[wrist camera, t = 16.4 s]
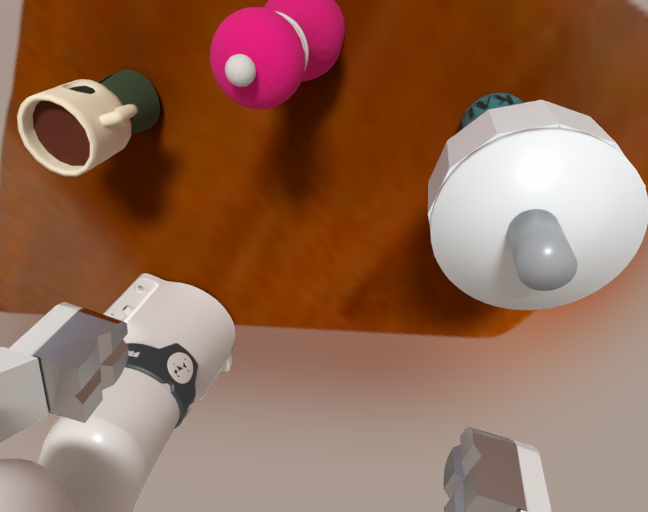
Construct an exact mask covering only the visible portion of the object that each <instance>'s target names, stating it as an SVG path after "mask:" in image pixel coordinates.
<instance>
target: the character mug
mask: <svg viewBox="0 0 648 512" xmlns="http://www.w3.org/2000/svg"><path fill="white" fill-rule="evenodd" d="M114 73H115V72H114ZM112 74H113V73H112ZM112 74H110V75H109V76H107V77H105V78H103V79H102V80H101V81H99V82H98V83H97V82H95V81H92V80H86V79H81V80H75V81H72V82H69V83H66V84H63V85H60V86H57V87H55V88H52V89H49V90H46V91H43V92H40V93H38V94H35V95H32V96H30V97H28V98H26V99H25V101H24V102H23V103H22V104H21V105H20V108H19V111H18V115H17V121H18V131H19V133H20V136H21V138H22V141H23V143H24V146H25V147H26V148H27V150H28V151H29V152H30V153H31V155H32V156H33V157H34V158H35V160H36V161H38V162H39V163H40V164H42V165H43V166H44V167H46V168H47V169H48V170H50V171H52V172H55V173H57V174H60V175H63V176H79V175H81V174H83V173H85V172H86V171H88V170H90V169H92V168H94V167H95V166H97V165H98V164H100V163H102V162H103V161H105V160H106V159H108V158H110V157H111V156H113V155H115V154H116V153H118V152H119V151H121V150H123V149H124V148H125V147H126V145H127V143H128V141H129V139H130V138H131V135H132V134H135V133H138V132H142V131H144V130H147V129H149V128H151V127H153V125H154V124H155V123H156V122H157V121H158V120H159V114H160V104H159V100H158V95H157V93H156V91H155V89H154V87H153V85H152V84H151V82H150V80H148V79H147V78H146V77H144V76H143V75H142V74H140V73H139V72H137V71H133V70H129V69H124V70H122V71H120V72H118V73H116V74H114V75H112Z"/></svg>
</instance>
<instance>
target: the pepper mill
mask: <svg viewBox="0 0 648 512" xmlns="http://www.w3.org/2000/svg"><path fill="white" fill-rule="evenodd" d="M344 36H345V22H344V18H343V15H342V12H341V10H340V8H339V6H338V5H337V4H336V2H335V1H334V0H269V1H268V2H267V3H266V5H265V6H264V7H263V8H259V7H249V8H244V9H241V10H238V11H236V12H234V13H233V14H231V15H229V16H228V17H227V18H226V19H225V20H224V21H223V22H222V23H221V24H220V26H219V27H218V29H217V31H216V32H215V34H214V37H213V40H212V44H211V50H210V62H211V67H212V71H213V74H214V77H215V79H216V81H217V83H218V85H219V86H220V88H221V89H222V90H223V91H224V93H225V94H226V95H227V96H228V97H229V98H230V99H232V100H233V101H235V102H236V103H238V104H240V105H242V106H245V107H248V108H252V109H268V108H272V107H275V106H278V105H280V104H282V103H283V102H285V101H286V100H288V99H289V98H290V97H291V96H292V95H293V94H294V93H295V92H296V90H297V88H298V87H299V85H300V83H301V81H308V80H312V79H315V78H317V77H319V76H321V75H323V74H324V73H326V72H327V71H328V70H329V69H330V68H331V67H332V66H333V65H334V64H335V62H336V61H337V59H338V57H339V55H340V52H341V49H342V45H343V40H344Z"/></svg>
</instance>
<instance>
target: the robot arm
mask: <svg viewBox="0 0 648 512" xmlns="http://www.w3.org/2000/svg"><path fill="white" fill-rule="evenodd" d="M235 338H236V332H235V327H234V323H233V321H232V319H231V317H230V315H229V313H228V312H227V311H226V309H225V308H224V307H223V306H222V305H221V304H220V303H219V302H218V301H217V300H216V299H215V298H213V297H212V296H211V295H209V294H208V293H206V292H204V291H203V290H201V289H198V288H196V287H194V286H191V285H187V284H183V283H177V282H169V281H164V280H162V279H160V278H158V277H156V276H153V275H151V274H147V273H144V274H141V275H140V276H139V277H138V278H137V279H136V280H135V281H134V282H133V283H132V284H131V285H130V286H129V287H128V288H127V290H126V291H125V292H124V293H123V294H122V295H121V296H120V297H119V298H118V299H117V300H116V301H115V302H114V303H113V304H112V305H111V306H110V307H109V308H108V309H107V310H106V311H105V312H104V313H103V314H100V313H97V312H94V311H91V310H88V309H85V308H82V307H79V306H76V305H72V304H69V303H66V302H63V303H60V304H58V305H56V306H55V307H54V308H53V309H52V310H51V311H49V312H48V313H47V314H46V315H45V316H44V317H43V318H42V319H41V320H40V321H39V322H37V324H35V325H34V326H33V327H32V328H31V329H30V330H29V331H28V332H27V333H25V334H24V335H23V336H22V337H21V338H20V339H19V340H18V341H16V342H15V343H14V344H13V345H12V346H11V347H10V348H5V347H1V348H0V442H2V441H4V440H6V439H7V438H9V437H11V436H13V435H14V434H16V433H18V432H20V431H21V430H23V429H25V428H27V427H28V426H30V425H32V424H34V423H36V422H37V421H39V420H41V419H43V418H45V417H46V416H48V415H49V413H52V414H55V415H59V416H61V417H60V418H59V420H58V421H57V422H56V423H55V424H54V426H53V427H52V428H51V430H50V432H49V434H48V435H47V437H46V439H45V442H44V445H43V448H42V451H41V455H40V458H39V460H38V463H35V462H32V461H28V460H23V459H0V512H133V509H134V506H135V504H136V502H137V499H138V497H139V495H140V492H141V490H142V488H143V486H144V483H145V481H146V480H147V478H148V476H149V474H150V472H151V470H152V468H153V466H154V464H155V463H156V461H157V459H158V457H159V455H160V453H161V451H162V450H163V448H164V446H165V444H166V442H167V440H168V439H169V437H170V435H171V433H172V432H173V430H174V429H175V428H176V427H177V426H179V425H180V423H181V422H182V421H183V419H184V418H185V417H186V416H187V414H188V412H189V410H190V408H191V405H192V403H194V402H197V401H201V400H202V399H203V398H204V397H205V395H206V394H207V392H208V391H209V389H210V387H211V386H212V384H213V383H214V381H215V380H216V378H217V377H218V375H219V374H220V373H225V372H228V371H229V370H230V368H231V367H232V364H233V362H232V356H231V351H232V348H233V346H234V343H235ZM444 490H445V492H446V493H447V495H448V496H449V498H450V500H449V502H448V503H447V505H446V506H445V507H444V512H552V510H551V506H550V502H549V496H548V492H547V487H546V483H545V478H544V474H543V469H542V464H541V460H540V455H539V452H538V450H537V449H536V447H533V446H530V445H527V444H524V443H520V442H517V441H514V440H511V439H508V438H505V437H502V436H498V435H495V434H491V433H488V432H484V431H481V430H478V429H474V428H471V427H468V428H466V429H465V430H464V431H463V433H462V435H461V445H459V446H456V447H453V449H452V450H451V452H450V454H449V456H448V459H447V462H446V465H445V471H444Z"/></svg>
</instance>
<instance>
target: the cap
mask: <svg viewBox="0 0 648 512" xmlns="http://www.w3.org/2000/svg"><path fill="white" fill-rule="evenodd" d="M645 187H646V186H645V184H644V183H643V181H642V179H641V178H640V176H639V174H638V172H637V171H636V169H635V168H634V167H633V166H632V164H631V163H630V162H629V161H628V160H627V158H626V157H625V155H624V154H623V152H622V151H621V149H620V148H619V146H618V145H617V144H616V142H615V141H614V140H613V139H612V138H611V137H610V136H609V135H608V134H607V133H606V132H605V131H604V130H603V129H602V128H601V127H600V126H599V125H598V124H597V123H596V122H595V121H594V120H593V119H592V118H591V117H590V116H587V115H584V114H581V113H578V112H575V111H572V110H569V109H567V108H564V107H561V106H558V105H555V104H552V103H549V102H547V101H544V100H538V101H533V102H527V103H522V104H516V105H511V106H505V107H500V108H494V109H489V110H487V111H486V112H485V113H483V114H482V115H481V116H479V117H478V118H477V119H475V120H474V121H473V122H471V123H470V124H469V125H467V126H466V127H465V128H463V129H462V130H461V131H459V132H458V133H457V134H455V135H454V136H453V137H451V138H450V139H449V140H447V142H446V144H445V147H444V149H443V151H442V153H441V155H440V158H439V160H438V162H437V164H436V166H435V169H434V171H433V173H432V175H431V177H430V180H429V187H428V217H429V224H430V233H431V244H432V248H433V252H434V257H435V258H436V260H437V262H438V264H439V266H440V268H441V269H442V271H443V272H444V274H445V275H446V276H447V277H448V279H449V280H450V281H451V282H452V283H453V284H454V285H455V286H456V287H458V288H459V289H460V290H462V291H463V292H464V293H466V294H468V295H469V296H471V297H473V298H475V299H477V300H479V301H482V302H484V303H486V304H490V305H493V306H497V307H501V308H507V309H515V310H539V309H547V308H552V307H557V306H561V305H565V304H568V303H571V302H574V301H577V300H579V299H581V298H584V297H586V296H588V295H590V294H591V293H594V292H595V291H597V290H599V289H600V288H602V287H603V286H604V285H606V284H608V283H609V282H610V281H611V280H613V279H614V278H615V277H616V276H617V275H618V274H620V272H621V271H622V270H623V269H624V268H625V267H626V266H627V265H628V264H629V262H630V261H631V260H632V258H633V257H634V255H635V254H636V252H637V250H638V249H639V247H640V245H641V243H642V240H643V237H644V235H645V232H646V228H647V223H648V197H647V192H646V189H645Z"/></svg>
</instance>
